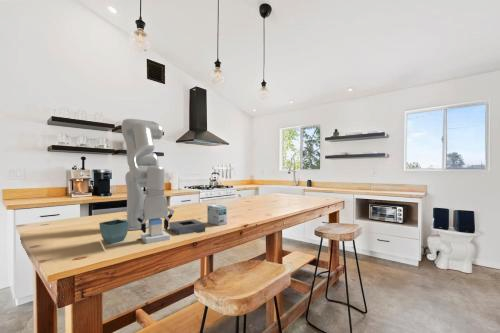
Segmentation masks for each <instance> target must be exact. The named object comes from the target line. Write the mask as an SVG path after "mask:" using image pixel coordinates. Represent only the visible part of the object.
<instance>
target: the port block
mask: <svg viewBox="0 0 500 333" xmlns="http://www.w3.org/2000/svg"><path fill="white" fill-rule="evenodd" d="M168 229H169V230H170V231H172V232H174V233H175V234H177V235H179V236H181V235H186V234H192V233H196V234H199V233H205V232H206V223H204V222H202V221H199V220H197V219H194V218H192V219H186V220H185V219H184V220H177V221H176V220H175V221H169V226H168Z"/></svg>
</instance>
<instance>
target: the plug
mask: <svg viewBox="0 0 500 333" xmlns="http://www.w3.org/2000/svg"><path fill="white" fill-rule="evenodd" d="M148 224H149V227H148V233H149V235H148V236H150V237H154V236H160V235H162V231H163V218H157V219H148Z"/></svg>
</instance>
